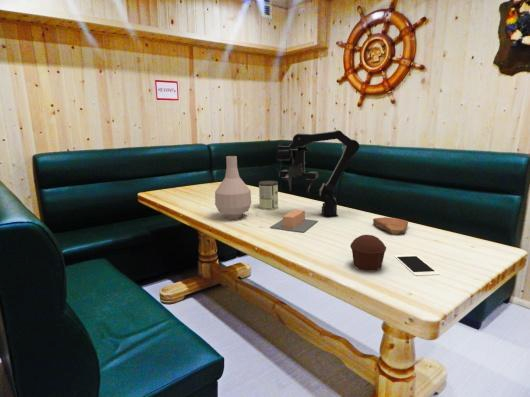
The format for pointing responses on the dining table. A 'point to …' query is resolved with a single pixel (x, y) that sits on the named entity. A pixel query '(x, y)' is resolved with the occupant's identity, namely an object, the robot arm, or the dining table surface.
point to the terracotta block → (293, 218)
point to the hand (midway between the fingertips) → (298, 191)
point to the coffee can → (268, 195)
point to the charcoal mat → (299, 228)
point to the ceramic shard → (391, 225)
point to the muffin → (368, 252)
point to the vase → (232, 192)
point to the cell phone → (416, 265)
